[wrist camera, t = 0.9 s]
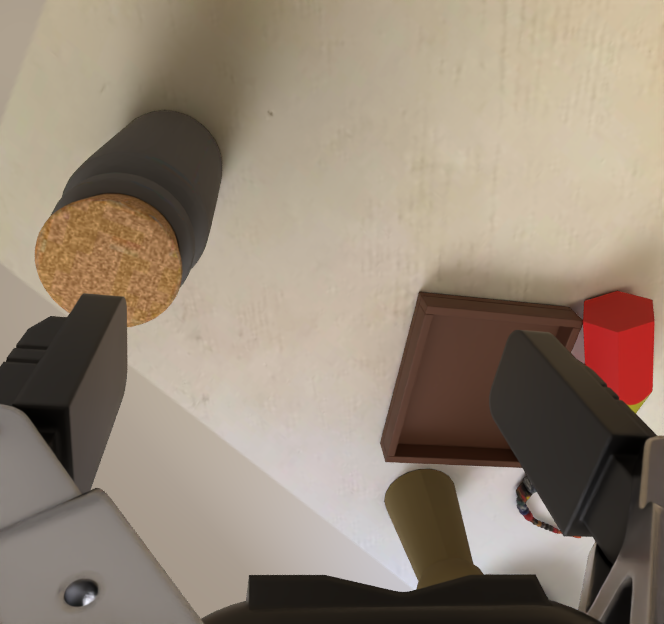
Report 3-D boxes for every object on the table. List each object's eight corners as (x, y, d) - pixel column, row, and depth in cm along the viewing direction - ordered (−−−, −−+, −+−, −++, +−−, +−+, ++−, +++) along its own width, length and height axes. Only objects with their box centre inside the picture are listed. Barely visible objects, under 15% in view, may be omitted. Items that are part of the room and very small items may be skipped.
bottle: (96, 167, 31) (-21, 277, 18) (158, 85, 30) (80, 141, 17) (181, 232, 34) (133, 371, 21) (244, 159, 32) (234, 259, 19)
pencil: (575, 426, 45) (604, 464, 42) (567, 306, 39) (599, 338, 36) (633, 409, 45) (666, 445, 42) (633, 285, 39) (672, 315, 36)
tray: (419, 291, 38) (427, 305, 36) (569, 306, 40) (584, 320, 38) (379, 443, 43) (385, 462, 42) (512, 449, 46) (523, 468, 44)
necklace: (603, 442, 46) (616, 460, 44) (602, 520, 52) (614, 539, 51) (508, 468, 47) (518, 488, 45) (519, 542, 53) (527, 562, 51)
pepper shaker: (441, 524, 49) (487, 650, 39) (375, 518, 47) (406, 647, 38) (465, 472, 46) (520, 593, 36) (396, 465, 45) (434, 589, 35)
